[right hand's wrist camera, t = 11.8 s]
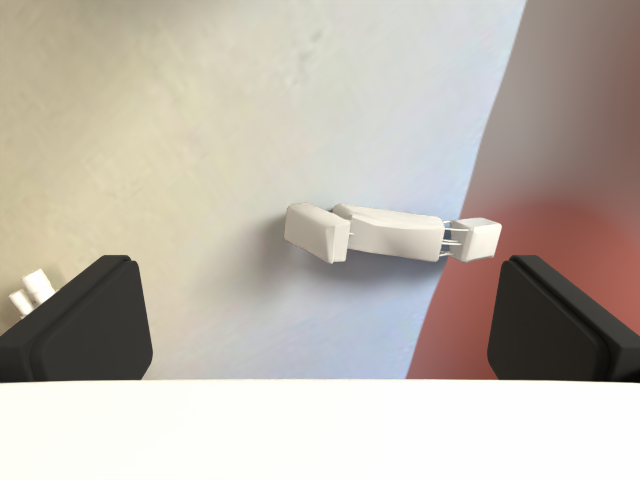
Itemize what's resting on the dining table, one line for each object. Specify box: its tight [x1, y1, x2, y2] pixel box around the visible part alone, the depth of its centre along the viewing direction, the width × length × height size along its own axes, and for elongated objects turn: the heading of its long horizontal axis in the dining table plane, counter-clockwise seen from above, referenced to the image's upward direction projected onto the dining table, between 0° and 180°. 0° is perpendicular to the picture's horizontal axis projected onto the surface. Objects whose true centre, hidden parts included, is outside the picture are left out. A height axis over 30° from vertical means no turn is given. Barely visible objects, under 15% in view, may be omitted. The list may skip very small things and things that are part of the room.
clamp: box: [284, 202, 502, 264], centre depth 38 cm, size 20×4×7 cm, turn 84°
